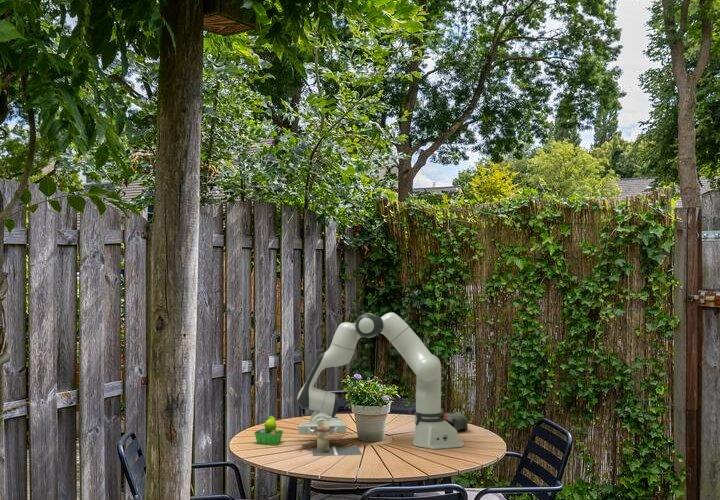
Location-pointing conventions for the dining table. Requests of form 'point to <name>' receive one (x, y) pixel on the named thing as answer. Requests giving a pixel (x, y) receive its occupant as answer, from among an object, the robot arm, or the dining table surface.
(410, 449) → the dining table surface
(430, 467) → the dining table surface
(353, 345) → the robot arm
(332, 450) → the lane mat
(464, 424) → the rock
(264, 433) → the fruit basket
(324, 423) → the skittle
